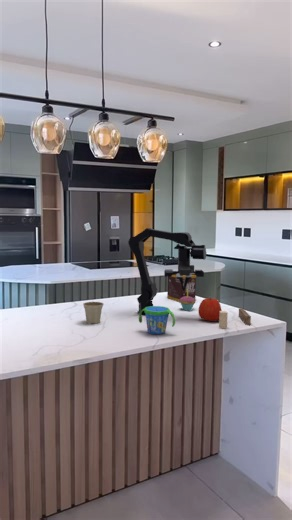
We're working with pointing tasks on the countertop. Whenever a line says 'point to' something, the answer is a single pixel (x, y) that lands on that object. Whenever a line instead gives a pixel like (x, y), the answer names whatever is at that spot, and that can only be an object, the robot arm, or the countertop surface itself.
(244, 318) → the batten
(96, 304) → the flower pot
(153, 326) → the snack cup
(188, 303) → the cupcake
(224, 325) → the beige upright piece
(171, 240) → the robot arm
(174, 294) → the supplement box
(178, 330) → the countertop surface
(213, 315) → the apple
